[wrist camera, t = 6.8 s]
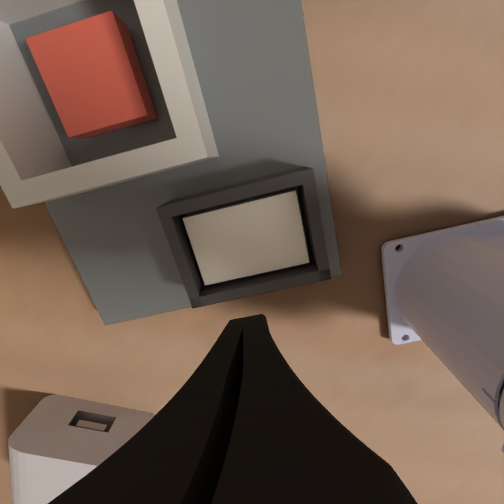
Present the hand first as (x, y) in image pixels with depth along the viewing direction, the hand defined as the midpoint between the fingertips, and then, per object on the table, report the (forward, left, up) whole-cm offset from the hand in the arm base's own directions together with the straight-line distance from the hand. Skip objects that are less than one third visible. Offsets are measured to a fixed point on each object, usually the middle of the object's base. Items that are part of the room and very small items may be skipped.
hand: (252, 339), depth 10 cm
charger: (+19, +16, -9) cm, 27 cm away
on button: (0, -2, -7) cm, 7 cm away
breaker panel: (+3, -7, -8) cm, 11 cm away
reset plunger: (+5, -11, -7) cm, 14 cm away
